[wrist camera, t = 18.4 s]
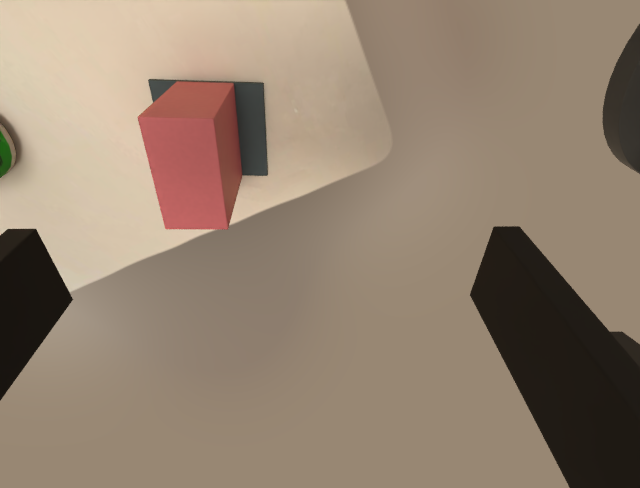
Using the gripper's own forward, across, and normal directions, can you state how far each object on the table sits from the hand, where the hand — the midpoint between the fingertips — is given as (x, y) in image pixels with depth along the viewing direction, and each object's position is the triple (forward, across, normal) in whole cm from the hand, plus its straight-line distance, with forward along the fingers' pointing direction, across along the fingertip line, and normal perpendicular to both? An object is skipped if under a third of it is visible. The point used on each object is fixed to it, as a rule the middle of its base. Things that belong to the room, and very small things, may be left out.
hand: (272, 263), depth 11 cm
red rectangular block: (+26, -8, -5) cm, 28 cm away
